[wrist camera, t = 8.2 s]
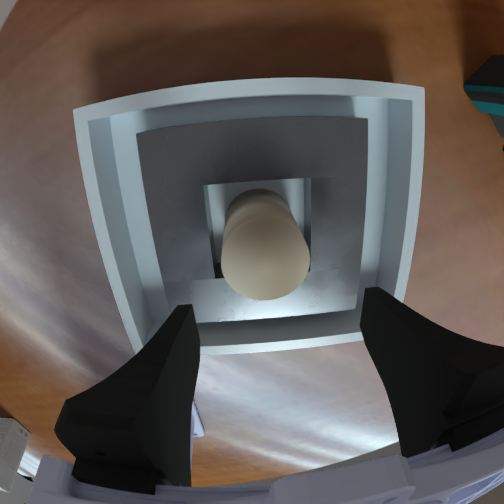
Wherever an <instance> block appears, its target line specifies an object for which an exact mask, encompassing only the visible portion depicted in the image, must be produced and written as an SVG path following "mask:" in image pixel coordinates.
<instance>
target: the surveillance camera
mask: <svg viewBox="0 0 504 504" xmlns="http://www.w3.org/2000/svg"><path fill="white" fill-rule="evenodd" d="M464 90H465V92H466V94H467V95H468V97H469V98H470V99H471V100H472V102H473V103H474V104H475V106H476V107H477V108H478V110H479V111H480V112H484V113H489V114H490V116H491V118H492V120H493V122H494V124H495V126H496V128H497V131H498V133H499V134H500V136H501V137H502V138H504V55H494V56H492V57H491V58H490V59H489V60H487V61H486V62H485V63H484V64H483V65H482V66H481V67H480V68H479V69H478V70H477V71H476V72H475V73H474V74H473V75H472V76H471V77H470V78H469V79H468V80H467V81H466V82H465V84H464ZM503 151H504V148H503Z"/></svg>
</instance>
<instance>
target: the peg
mask: <svg viewBox="0 0 504 504" xmlns="http://www.w3.org/2000/svg"><path fill="white" fill-rule="evenodd" d="M309 265H310V253H309V249H308V246H307V244H306V242H305V240H304V238H303V235H302V233H301V231H300V229H299V227H298V225H297V223H296V221H295V219H294V217H293V215H292V212H291V210H290V208H289V206H288V204H287V203H286V201H285V200H284V199H283V198H282V197H281V196H280V195H278V194H277V193H275V192H273V191H270V190H267V189H260V188H259V189H251V190H247V191H245V192H243V193H241V194H239V195H238V196H237V197H236V198H234V200H233V201H232V202H231V203H230V205H229V207H228V209H227V212H226V216H225V226H224V235H223V245H222V256H221V268H222V273H223V275H224V278H225V280H226V281H227V283H228V284H229V285H230V287H231V288H232V289H233V290H234V291H236V292H237V293H239V294H240V295H242V296H244V297H247V298H250V299H253V300H262V301H266V300H274V299H278V298H281V297H283V296H286V295H287V294H289V293H291V292H292V291H294V290H295V289H296V288H297V287H298V286H299V285H300V284H301V283H302V282H303V280H304V279H305V277H306V275H307V272H308V270H309Z"/></svg>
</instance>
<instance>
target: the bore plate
mask: <svg viewBox="0 0 504 504" xmlns="http://www.w3.org/2000/svg"><path fill="white" fill-rule="evenodd" d="M136 139H137V146H138V154H139V161H140V167H141V174H142V180H143V186H144V192H145V198H146V204H147V209H148V215H149V220H150V225H151V231H152V236H153V240H154V245H155V250H156V255H157V259H158V264H159V268H160V273H161V277H162V281H163V286H164V290H165V294H166V298H167V302H168V306H169V310H170V314H171V313H172V311H173V310H174V309H175V308H176V306H177V305H183V304H192V305H193V310H194V314H195V319H196V323H203V322H222V321H237V320H251V319H264V318H276V317H287V316H298V315H308V314H317V313H327V312H335V311H344V310H352V309H356V301H357V294H358V286H359V278H360V269H361V260H362V250H363V239H364V226H365V212H366V195H367V171H368V118H362V117H355V116H280V117H259V118H244V119H231V120H220V121H210V122H201V123H192V124H184V125H177V126H170V127H163V128H156V129H150V130H145V131H142V132H139V133H136ZM298 178H304V240H305V242H306V244H307V246H308V249H309V253H310V265H309V270H308V272H307V275H306V277H305V279H304V280H303V282H302V283H301V284H300V285H299V286H298V287H297V288H296V289H295V290H294V291H292V292H291V293H289V294H287V295H286V296H283V297H281V298H278V299H274V300H266V301H262V300H253V299H250V298H247V297H244V296H242V295H240V294H239V293H237V292H236V291H234V290H233V289H232V288H231V287H230V285H229V284H228V283H227V281H226V280H225V278H224V275H223V273H222V268H221V263H217V259H216V251H215V243H214V235H213V227H212V219H211V211H210V202H209V193H208V185H213V184H224V183H236V182H249V181H263V180H279V179H298Z"/></svg>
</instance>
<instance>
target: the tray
mask: <svg viewBox="0 0 504 504" xmlns="http://www.w3.org/2000/svg"><path fill="white" fill-rule="evenodd" d="M73 115H74V124H75V131H76V138H77V145H78V151H79V157H80V163H81V169H82V174H83V180H84V185H85V190H86V194H87V199H88V204H89V208H90V212H91V217H92V221H93V225H94V229H95V233H96V237H97V241H98V244H99V248H100V252H101V255H102V259H103V262H104V266H105V269H106V272H107V276H108V279H109V282H110V285H111V289H112V292H113V295H114V298H115V301H116V304H117V307H118V310H119V312H120V315H121V318H122V321H123V324H124V326H125V329H126V332H127V334H128V337H129V340H130V342H131V345H132V347H133V350H134V352H135V355H136V354H137V353H138V352H139V351H140V350H141V349H142V348H143V347H144V346H145V345H146V343H147V342H148V341H149V340H150V339H151V338H152V337H153V336H154V334H155V333H156V332H157V331H158V329H159V328H160V327H161V326H162V325H163V323H164V322H165V321H166V319H167V318H168V317H169V315H170V310H169V306H168V302H167V298H166V294H165V290H164V286H163V281H162V277H161V273H160V268H159V264H158V259H157V255H156V250H155V245H154V240H153V236H152V231H151V225H150V220H149V215H148V209H147V204H146V198H145V192H144V186H143V180H142V174H141V167H140V161H139V154H138V146H137V139H136V133H139V132H142V131H145V130H150V129H156V128H163V127H170V126H177V125H184V124H192V123H201V122H210V121H220V120H231V119H244V118H259V117H280V116H355V117H362V118H368V171H367V195H366V212H365V226H364V239H363V250H362V260H361V269H360V278H359V286H358V294H357V301H356V309H352V310H344V311H335V312H327V313H317V314H308V315H298V316H287V317H276V318H264V319H251V320H237V321H222V322H203V323H196V324H197V328H198V332H199V337H200V341H201V342H200V355H221V354H239V353H254V352H266V351H278V350H288V349H298V348H307V347H316V346H324V345H332V344H339V343H346V342H353V341H360V340H364V339H363V336H362V332H361V329H360V326H359V325H360V319H361V312H362V306H363V299H364V291H365V288H369V287H377V286H378V287H380V288H381V289H383V290H385V291H386V292H388V293H389V294H390V295H392V296H393V297H395V298H396V299H398V300H399V301H401V302H402V303H403V300H404V296H405V291H406V286H407V281H408V276H409V271H410V266H411V260H412V255H413V249H414V242H415V236H416V229H417V221H418V213H419V205H420V196H421V185H422V173H423V157H424V133H425V91H424V87H418V86H411V85H404V84H396V83H388V82H378V81H367V80H355V79H337V78H261V79H244V80H231V81H219V82H210V83H201V84H193V85H186V86H179V87H172V88H166V89H160V90H154V91H149V92H143V93H138V94H133V95H129V96H124V97H120V98H115V99H111V100H107V101H103V102H99V103H95V104H91V105H87V106H84V107H80V108H77V109H73ZM259 188H260V189H267V190H270V191H273V192H275V193H277V194H278V195H280V196H281V197H282V198H283V199H284V200H285V201H286V203H287V204H288V206H289V208H290V210H291V212H292V215H293V217H294V219H295V221H296V223H297V225H298V227H299V229H300V231H301V233H302V235H303V238H304V178H298V179H279V180H263V181H249V182H236V183H224V184H213V185H208V193H209V202H210V211H211V219H212V227H213V235H214V243H215V251H216V259H217V263H221V256H222V245H223V235H224V226H225V216H226V212H227V209H228V207H229V205H230V203H231V202H232V201H233V200H234V198H236V197H237V196H238V195H239V194H241V193H243V192H245V191H247V190H251V189H259Z"/></svg>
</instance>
